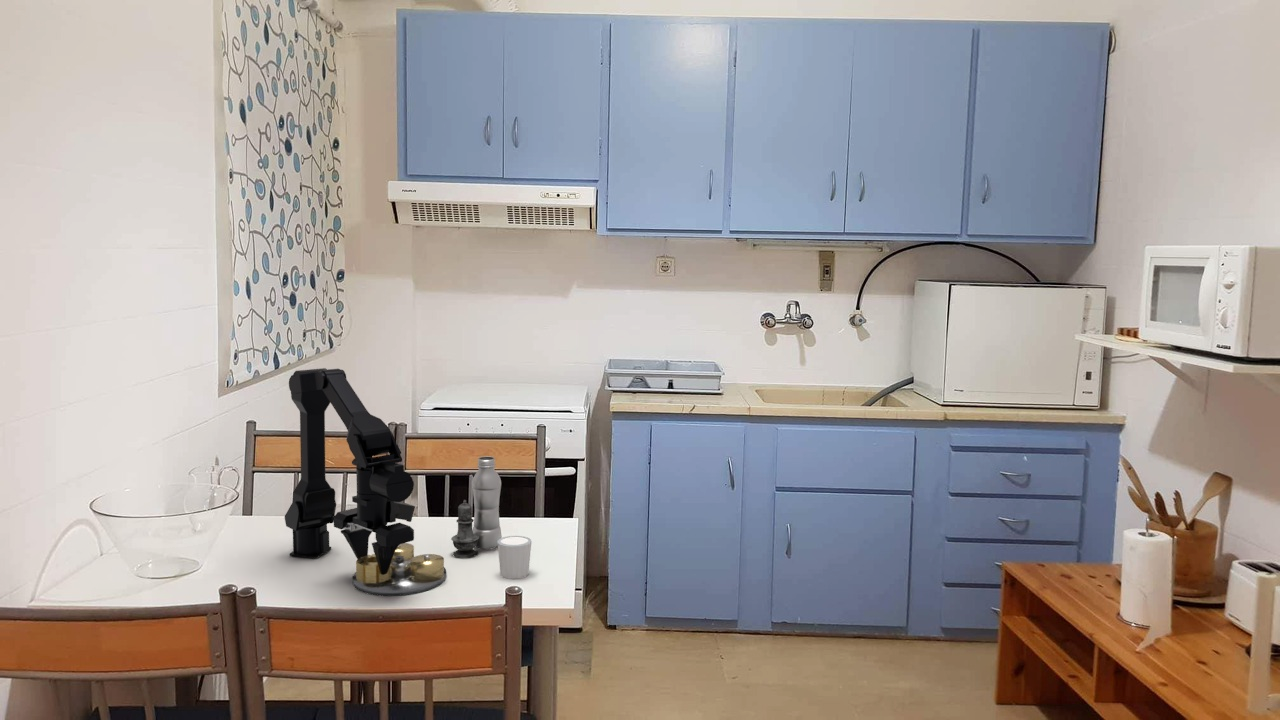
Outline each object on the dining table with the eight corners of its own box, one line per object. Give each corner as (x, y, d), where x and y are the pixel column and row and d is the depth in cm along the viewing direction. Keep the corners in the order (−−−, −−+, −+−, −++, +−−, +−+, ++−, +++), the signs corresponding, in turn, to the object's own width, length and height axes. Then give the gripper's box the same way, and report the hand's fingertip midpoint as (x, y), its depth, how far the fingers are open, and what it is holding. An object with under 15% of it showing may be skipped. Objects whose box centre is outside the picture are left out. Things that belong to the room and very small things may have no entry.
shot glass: (493, 570, 193) (493, 537, 192) (526, 566, 196) (526, 533, 195) (502, 581, 187) (502, 547, 186) (535, 577, 190) (535, 543, 189)
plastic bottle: (498, 541, 211) (498, 454, 209) (504, 551, 205) (504, 460, 202) (469, 544, 209) (469, 455, 207) (474, 554, 203) (473, 462, 200)
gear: (350, 577, 183) (350, 559, 182) (379, 569, 187) (378, 552, 187) (369, 585, 179) (369, 567, 178) (398, 577, 183) (398, 559, 183)
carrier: (335, 591, 180) (334, 564, 180) (378, 560, 198) (377, 535, 197) (424, 599, 177) (423, 572, 176) (460, 567, 195) (459, 542, 194)
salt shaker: (473, 559, 199) (472, 504, 198) (447, 557, 200) (446, 502, 199) (483, 550, 205) (482, 496, 203) (457, 548, 206) (457, 494, 205)
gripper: (437, 492, 181) (437, 570, 183) (380, 474, 193) (381, 548, 195) (387, 503, 172) (388, 586, 174) (331, 485, 184) (333, 562, 186)
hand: (373, 569), depth 183 cm, fingers open, 7 cm apart
